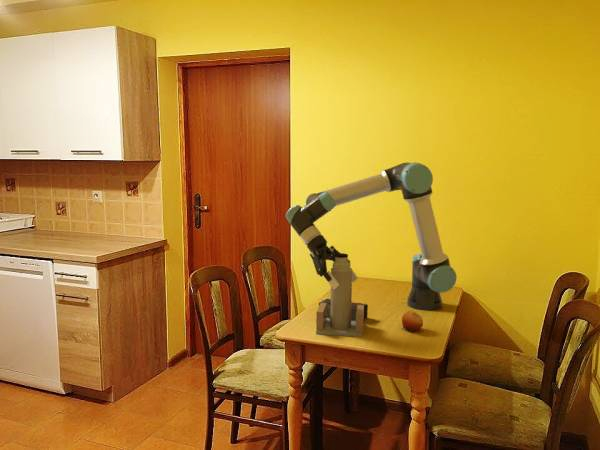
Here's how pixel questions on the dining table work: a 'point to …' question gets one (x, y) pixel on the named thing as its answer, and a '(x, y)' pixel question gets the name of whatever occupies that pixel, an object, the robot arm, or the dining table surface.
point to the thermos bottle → (341, 293)
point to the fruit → (412, 321)
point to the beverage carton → (353, 309)
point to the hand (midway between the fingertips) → (346, 283)
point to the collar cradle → (325, 328)
